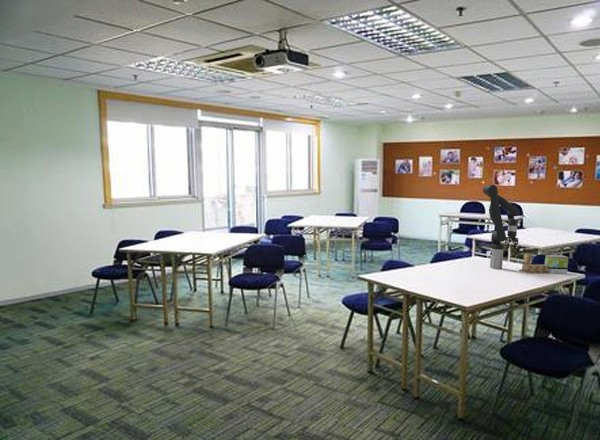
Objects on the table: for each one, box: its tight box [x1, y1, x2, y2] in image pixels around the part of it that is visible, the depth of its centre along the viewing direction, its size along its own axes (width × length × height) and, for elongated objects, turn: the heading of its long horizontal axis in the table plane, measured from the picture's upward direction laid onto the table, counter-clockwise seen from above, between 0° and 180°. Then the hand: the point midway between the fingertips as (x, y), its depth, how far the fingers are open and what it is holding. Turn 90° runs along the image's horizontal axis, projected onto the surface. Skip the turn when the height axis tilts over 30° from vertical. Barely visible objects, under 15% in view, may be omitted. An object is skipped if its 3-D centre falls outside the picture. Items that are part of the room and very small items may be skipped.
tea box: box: [544, 254, 569, 274], centre depth 396 cm, size 15×10×15 cm, turn 97°
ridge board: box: [519, 263, 551, 274], centre depth 394 cm, size 20×13×6 cm, turn 100°
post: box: [523, 253, 532, 265], centre depth 404 cm, size 4×4×14 cm
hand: (511, 248), depth 409 cm, fingers open, 8 cm apart
